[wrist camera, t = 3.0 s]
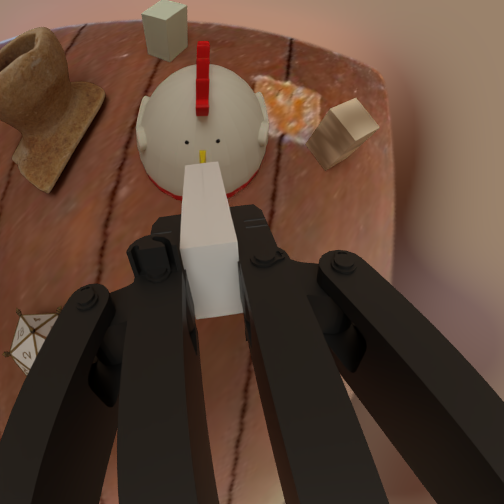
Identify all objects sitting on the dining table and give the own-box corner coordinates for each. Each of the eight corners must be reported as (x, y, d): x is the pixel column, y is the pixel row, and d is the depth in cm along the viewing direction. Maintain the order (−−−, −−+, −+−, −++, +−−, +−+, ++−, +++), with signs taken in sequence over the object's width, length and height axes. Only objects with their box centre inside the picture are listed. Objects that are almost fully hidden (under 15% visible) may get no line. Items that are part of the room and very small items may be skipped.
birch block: (305, 144, 33) (330, 109, 25) (328, 132, 34) (355, 98, 26) (325, 171, 33) (355, 140, 25) (347, 157, 34) (379, 127, 26)
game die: (73, 322, 30) (59, 274, 23) (102, 383, 27) (91, 352, 20) (14, 345, 24) (-17, 302, 17) (38, 411, 21) (4, 388, 14)
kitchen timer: (139, 207, 29) (89, 141, 15) (146, 102, 31) (124, 11, 16) (268, 200, 31) (317, 132, 17) (258, 98, 33) (286, 8, 18)
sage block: (148, 54, 32) (141, 13, 24) (166, 38, 32) (162, -1, 25) (169, 62, 32) (165, 20, 24) (187, 46, 33) (187, 5, 25)
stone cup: (59, 81, 29) (22, 13, 15) (119, 96, 30) (89, 11, 16) (2, 171, 27) (-64, 124, 12) (56, 200, 28) (-20, 147, 13)
